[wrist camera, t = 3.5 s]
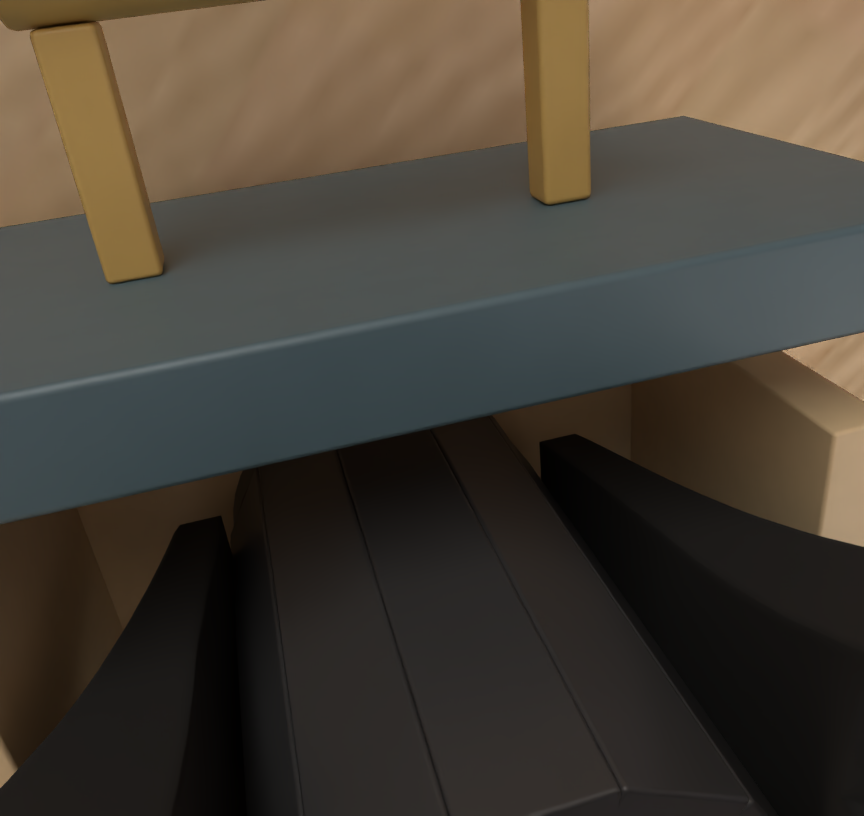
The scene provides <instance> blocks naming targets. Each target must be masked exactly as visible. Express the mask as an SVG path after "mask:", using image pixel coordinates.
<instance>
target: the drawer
mask: <svg viewBox="0 0 864 816" xmlns="http://www.w3.org/2000/svg"><path fill="white" fill-rule="evenodd" d="M256 1H264V0H0V19H1V21H2V22H3V23H4V25H5V26H6V27H7V28H9V29H11V30H14V31H23V30H31V29H35V30H33V31H31V32H30V39H31V42H32V45H33V48H34V51H35V55H36V58H37V61H38V64H39V67H40V71H41V74H42V77H43V80H44V83H45V87H46V90H47V93H48V96H49V99H50V103H51V106H52V109H53V112H54V115H55V119H56V122H57V125H58V128H59V131H60V135H61V138H62V141H63V144H64V148H65V151H66V154H67V157H68V160H69V164H70V167H71V170H72V173H73V176H74V180H75V183H76V186H77V189H78V192H79V196H80V199H81V202H82V205H83V208H84V212H85V214H81V215H75V216H69V217H62V218H56V219H50V220H44V221H38V222H32V223H26V224H20V225H14V226H7V227H1V228H0V788H1V787H2V786H3V785H4V784H5V783H6V782H7V781H8V780H9V778H10V777H11V776H12V775H13V774H14V773H15V772H16V771H17V770H18V768H19V767H20V766H21V765H22V764H23V763H24V762H25V761H26V760H27V758H28V757H29V756H30V755H31V754H32V753H33V752H34V751H35V750H36V749H37V747H38V746H39V745H40V744H41V743H42V742H43V741H44V740H45V739H46V737H47V736H48V735H49V734H50V733H51V732H52V731H53V730H54V728H55V727H56V726H57V725H58V724H59V722H60V721H61V720H62V718H63V717H64V716H65V715H66V713H67V712H68V711H69V709H70V708H71V707H72V706H73V704H74V703H75V702H76V700H77V699H78V698H79V696H80V695H81V694H82V692H83V691H84V690H85V688H86V687H87V685H88V684H89V683H90V681H91V680H92V678H93V677H94V675H95V674H96V673H97V671H98V670H99V668H100V667H101V665H102V663H103V662H104V660H105V659H106V657H107V656H108V654H109V652H110V651H111V649H112V648H113V646H114V645H115V643H116V641H117V640H118V638H119V637H120V635H121V634H122V632H123V630H124V629H125V627H126V626H127V624H128V622H129V620H130V619H131V617H132V615H133V613H134V611H135V610H136V608H137V606H138V604H139V602H140V601H141V599H142V597H143V595H144V593H145V592H146V590H147V588H148V586H149V584H150V582H151V580H152V578H153V576H154V574H155V572H156V570H157V568H158V566H159V564H160V562H161V560H162V558H163V556H164V554H165V552H166V550H167V547H168V545H169V543H170V541H171V539H172V536H173V534H174V532H175V531H176V530H177V528H178V527H179V525H181V524H186V523H190V522H194V521H199V520H203V519H207V518H212V517H216V516H220V515H221V516H222V520H223V524H224V527H225V531H226V534H227V538H228V541H229V545H230V540H231V536H230V535H231V532H232V530H233V527H234V521H233V507H234V500H235V493H236V489H237V486H238V482H239V479H240V476H241V473H242V471H243V470H247V469H252V468H256V467H261V466H265V465H270V464H274V463H279V462H283V461H288V460H292V459H297V458H301V457H306V456H310V455H315V454H319V453H324V452H328V451H333V450H337V449H342V448H346V447H351V446H355V445H360V444H364V443H369V442H373V441H378V440H382V439H387V438H391V437H396V436H400V435H405V434H409V433H413V432H418V431H422V430H427V429H431V428H436V427H440V426H445V425H449V424H454V423H458V422H463V421H467V420H472V419H476V418H481V417H485V416H490V415H492V416H493V417H494V418H495V419H496V421H497V422H498V423H499V425H500V426H501V428H502V429H503V430H504V432H505V433H506V435H507V436H508V438H509V439H510V440H511V442H512V443H513V444H514V445H515V447H516V448H517V449H518V450H519V451H520V452H521V454H522V455H523V456H524V457H525V458H526V460H527V461H528V462H529V463H530V465H531V466H532V467H533V469H534V470H535V472H536V473H537V474H538V476H539V477H540V479H541V467H540V447H539V442H541V441H545V440H549V439H554V438H558V437H562V436H567V435H571V434H577V435H579V436H582V437H584V438H586V439H588V440H590V441H593V442H595V443H597V444H599V445H601V446H603V447H605V448H607V449H609V450H611V451H613V452H615V453H616V454H618V455H620V456H622V457H624V458H626V459H628V460H630V461H632V462H634V463H636V464H638V465H640V466H642V467H644V468H646V469H648V470H650V471H652V472H654V473H656V474H659V475H661V476H663V477H665V478H667V479H669V480H671V481H673V482H675V483H677V484H680V485H682V486H684V487H686V488H688V489H691V490H693V491H695V492H697V493H700V494H702V495H704V496H707V497H709V498H712V499H714V500H717V501H719V502H721V503H724V504H726V505H729V506H731V507H734V508H736V509H739V510H741V511H744V512H747V513H750V514H752V515H755V516H758V517H761V518H764V519H767V520H770V521H773V522H776V523H779V524H782V525H785V526H788V527H791V528H794V529H798V530H801V531H804V532H808V533H811V534H815V535H818V536H822V537H826V538H830V539H834V540H838V541H842V542H846V543H850V544H854V545H858V546H862V547H864V401H862V400H860V399H859V398H857V397H855V396H854V395H852V394H850V393H849V392H847V391H846V390H844V389H842V388H841V387H839V386H837V385H836V384H834V383H833V382H831V381H829V380H828V379H826V378H824V377H823V376H821V375H819V374H818V373H816V372H815V371H813V370H811V369H810V368H808V367H806V366H805V365H803V364H802V363H800V362H798V361H797V360H795V359H793V358H792V357H790V356H789V355H787V354H785V353H784V352H782V351H781V350H786V349H790V348H795V347H799V346H804V345H808V344H813V343H817V342H822V341H826V340H831V339H835V338H840V337H844V336H849V335H853V334H858V333H862V332H864V162H862V161H858V160H855V159H851V158H847V157H843V156H839V155H835V154H831V153H827V152H823V151H819V150H815V149H811V148H807V147H804V146H800V145H796V144H792V143H788V142H784V141H780V140H776V139H772V138H768V137H764V136H760V135H756V134H752V133H749V132H745V131H741V130H737V129H733V128H729V127H725V126H721V125H717V124H713V123H709V122H705V121H701V120H697V119H694V118H690V117H686V116H680V117H674V118H668V119H662V120H656V121H650V122H644V123H638V124H631V125H625V126H619V127H613V128H607V129H601V130H595V131H590V87H589V10H588V0H521V20H522V40H523V61H524V81H525V102H526V123H527V142H521V143H515V144H509V145H503V146H497V147H491V148H485V149H478V150H472V151H466V152H460V153H454V154H448V155H442V156H436V157H430V158H423V159H417V160H411V161H405V162H399V163H393V164H387V165H381V166H374V167H368V168H362V169H356V170H350V171H344V172H338V173H332V174H326V175H319V176H313V177H307V178H301V179H295V180H289V181H283V182H277V183H270V184H264V185H258V186H252V187H246V188H240V189H234V190H228V191H222V192H215V193H209V194H203V195H197V196H191V197H185V198H179V199H173V200H166V201H160V202H154V203H149V199H148V195H147V192H146V188H145V184H144V181H143V177H142V173H141V170H140V166H139V162H138V159H137V155H136V151H135V147H134V144H133V140H132V136H131V133H130V129H129V125H128V122H127V118H126V114H125V111H124V107H123V103H122V100H121V96H120V92H119V89H118V85H117V81H116V78H115V74H114V70H113V67H112V63H111V59H110V56H109V52H108V48H107V45H106V41H105V37H104V34H103V30H102V27H101V25H100V24H99V22H95V21H103V20H111V19H119V18H127V17H135V16H143V15H151V14H159V13H167V12H175V11H183V10H191V9H199V8H207V7H215V6H224V5H232V4H240V3H248V2H256ZM230 548H231V547H230Z"/></svg>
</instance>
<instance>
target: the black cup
mask: <svg viewBox="0 0 864 816" xmlns="http://www.w3.org/2000/svg"><path fill="white" fill-rule="evenodd" d="M233 521H234V527H233V530H232V532H231V535H230V536H231V540H230V547H231V552H232V555H233V570H234V586H235V616H236V644H237V660H238V677H239V693H240V709H241V725H242V742H243V758H244V774H245V791H246V807H247V816H778V814H777V813H776V812H775V810H774V809H773V807H772V806H771V804H770V803H769V802H768V800H767V799H766V797H765V796H764V795H763V793H762V792H761V790H760V789H759V787H758V786H757V785H756V783H755V782H754V780H753V779H752V778H751V776H750V775H749V773H748V772H747V770H746V769H745V768H744V766H743V765H742V763H741V762H740V761H739V759H738V758H737V756H736V755H735V753H734V752H733V751H732V749H731V748H730V746H729V745H728V744H727V742H726V741H725V739H724V738H723V736H722V735H721V734H720V732H719V731H718V729H717V728H716V727H715V725H714V724H713V722H712V721H711V719H710V718H709V717H708V715H707V714H706V712H705V711H704V710H703V708H702V707H701V705H700V704H699V702H698V701H697V700H696V698H695V697H694V695H693V694H692V693H691V691H690V690H689V688H688V687H687V685H686V684H685V683H684V681H683V680H682V678H681V677H680V676H679V674H678V673H677V671H676V670H675V668H674V667H673V666H672V664H671V663H670V661H669V660H668V659H667V657H666V656H665V654H664V653H663V651H662V650H661V649H660V647H659V646H658V644H657V643H656V642H655V640H654V639H653V637H652V636H651V635H650V633H649V632H648V630H647V629H646V627H645V626H644V625H643V623H642V622H641V620H640V619H639V618H638V616H637V615H636V613H635V612H634V610H633V609H632V608H631V606H630V605H629V603H628V602H627V601H626V599H625V598H624V596H623V595H622V593H621V592H620V591H619V589H618V588H617V586H616V585H615V584H614V582H613V581H612V579H611V578H610V576H609V575H608V574H607V572H606V571H605V569H604V568H603V567H602V565H601V564H600V562H599V561H598V559H597V558H596V557H595V555H594V554H593V552H592V551H591V550H590V548H589V547H588V545H587V544H586V542H585V541H584V540H583V538H582V537H581V535H580V534H579V533H578V531H577V530H576V528H575V527H574V525H573V524H572V523H571V521H570V520H569V519H568V517H567V516H566V514H565V513H564V512H563V510H562V509H561V507H560V506H559V504H558V503H557V502H556V500H555V499H554V497H553V496H552V495H551V493H550V492H549V490H548V489H547V487H546V486H545V485H544V483H543V482H542V480H541V479H540V477H539V476H538V474H537V473H536V472H535V470H534V469H533V467H532V466H531V465H530V463H529V462H528V461H527V460H526V458H525V457H524V456H523V455H522V454H521V452H520V451H519V450H518V449H517V448H516V447H515V445H514V444H513V443H512V442H511V440H510V439H509V438H508V436H507V435H506V433H505V432H504V430H503V429H502V428H501V426H500V425H499V423H498V422H497V421H496V419H495V418H494V417H493V416H492V415H490V416H485V417H481V418H476V419H472V420H467V421H463V422H458V423H454V424H449V425H445V426H440V427H436V428H431V429H427V430H422V431H418V432H413V433H409V434H405V435H400V436H396V437H391V438H387V439H382V440H378V441H373V442H369V443H364V444H360V445H355V446H351V447H346V448H342V449H337V450H333V451H328V452H324V453H319V454H315V455H310V456H306V457H301V458H297V459H292V460H288V461H283V462H279V463H274V464H270V465H265V466H261V467H256V468H252V469H247V470H243V471H242V473H241V476H240V479H239V482H238V486H237V489H236V493H235V500H234V507H233Z"/></svg>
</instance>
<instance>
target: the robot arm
mask: <svg viewBox="0 0 864 816" xmlns="http://www.w3.org/2000/svg"><path fill="white" fill-rule="evenodd" d="M539 447H540V467H541V480H542V482H543V483H544V485H545V486H546V487H547V489H548V490H549V492H550V493H551V495H552V496H553V497H554V499H555V500H556V502H557V503H558V504H559V506H560V507H561V509H562V510H563V512H564V513H565V514H566V516H567V517H568V519H569V520H570V521H571V523H572V524H573V525H574V527H575V528H576V530H577V531H578V533H579V534H580V535H581V537H582V538H583V540H584V541H585V542H586V544H587V545H588V547H589V548H590V550H591V551H592V552H593V554H594V555H595V557H596V558H597V559H598V561H599V562H600V564H601V565H602V567H603V568H604V569H605V571H606V572H607V574H608V575H609V576H610V578H611V579H612V581H613V582H614V584H615V585H616V586H617V588H618V589H619V591H620V592H621V593H622V595H623V596H624V598H625V599H626V601H627V602H628V603H629V605H630V606H631V608H632V609H633V610H634V612H635V613H636V615H637V616H638V618H639V619H640V620H641V622H642V623H643V625H644V626H645V627H646V629H647V630H648V632H649V633H650V635H651V636H652V637H653V639H654V640H655V642H656V643H657V644H658V646H659V647H660V649H661V650H662V651H663V653H664V654H665V656H666V657H667V659H668V660H669V661H670V663H671V664H672V666H673V667H674V668H675V670H676V671H677V673H678V674H679V676H680V677H681V678H682V680H683V681H684V683H685V684H686V685H687V687H688V688H689V690H690V691H691V693H692V694H693V695H694V697H695V698H696V700H697V701H698V702H699V704H700V705H701V707H702V708H703V710H704V711H705V712H706V714H707V715H708V717H709V718H710V719H711V721H712V722H713V724H714V725H715V727H716V728H717V729H718V731H719V732H720V734H721V735H722V736H723V738H724V739H725V741H726V742H727V744H728V745H729V746H730V748H731V749H732V751H733V752H734V753H735V755H736V756H737V758H738V759H739V761H740V762H741V763H742V765H743V766H744V768H745V769H746V770H747V772H748V773H749V775H750V776H751V778H752V779H753V780H754V782H755V783H756V785H757V786H758V787H759V789H760V790H761V792H762V793H763V795H764V796H765V797H766V799H767V800H768V802H769V803H770V804H771V806H772V807H773V809H774V810H775V812H776V813H777V814H778V816H864V547H862V546H858V545H854V544H850V543H846V542H842V541H838V540H834V539H830V538H826V537H822V536H818V535H815V534H811V533H808V532H804V531H801V530H798V529H794V528H791V527H788V526H785V525H782V524H779V523H776V522H773V521H770V520H767V519H764V518H761V517H758V516H755V515H752V514H750V513H747V512H744V511H741V510H739V509H736V508H734V507H731V506H729V505H726V504H724V503H721V502H719V501H717V500H714V499H712V498H709V497H707V496H704V495H702V494H700V493H697V492H695V491H693V490H691V489H688V488H686V487H684V486H682V485H680V484H677V483H675V482H673V481H671V480H669V479H667V478H665V477H663V476H661V475H659V474H656V473H654V472H652V471H650V470H648V469H646V468H644V467H642V466H640V465H638V464H636V463H634V462H632V461H630V460H628V459H626V458H624V457H622V456H620V455H618V454H616V453H615V452H613V451H611V450H609V449H607V448H605V447H603V446H601V445H599V444H597V443H595V442H593V441H590V440H588V439H586V438H584V437H582V436H579V435H577V434H571V435H567V436H562V437H558V438H554V439H549V440H545V441H541V442H539ZM0 816H247V807H246V791H245V774H244V758H243V742H242V725H241V709H240V693H239V677H238V660H237V644H236V616H235V586H234V570H233V555H232V552H231V548H230V545H229V541H228V538H227V534H226V531H225V527H224V524H223V520H222V516H221V515H220V516H216V517H212V518H207V519H203V520H199V521H194V522H190V523H186V524H181V525H179V527H178V528H177V530H176V531H175V532H174V534H173V536H172V539H171V541H170V543H169V545H168V547H167V550H166V552H165V554H164V556H163V558H162V560H161V562H160V564H159V566H158V568H157V570H156V572H155V574H154V576H153V578H152V580H151V582H150V584H149V586H148V588H147V590H146V592H145V593H144V595H143V597H142V599H141V601H140V602H139V604H138V606H137V608H136V610H135V611H134V613H133V615H132V617H131V619H130V620H129V622H128V624H127V626H126V627H125V629H124V630H123V632H122V634H121V635H120V637H119V638H118V640H117V641H116V643H115V645H114V646H113V648H112V649H111V651H110V652H109V654H108V656H107V657H106V659H105V660H104V662H103V663H102V665H101V667H100V668H99V670H98V671H97V673H96V674H95V675H94V677H93V678H92V680H91V681H90V683H89V684H88V685H87V687H86V688H85V690H84V691H83V692H82V694H81V695H80V696H79V698H78V699H77V700H76V702H75V703H74V704H73V706H72V707H71V708H70V709H69V711H68V712H67V713H66V715H65V716H64V717H63V718H62V720H61V721H60V722H59V724H58V725H57V726H56V727H55V728H54V730H53V731H52V732H51V733H50V734H49V735H48V736H47V737H46V739H45V740H44V741H43V742H42V743H41V744H40V745H39V746H38V747H37V749H36V750H35V751H34V752H33V753H32V754H31V755H30V756H29V757H28V758H27V760H26V761H25V762H24V763H23V764H22V765H21V766H20V767H19V768H18V770H17V771H16V772H15V773H14V774H13V775H12V776H11V777H10V778H9V780H8V781H7V782H6V783H5V784H4V785H3V786H2V787H1V788H0Z"/></svg>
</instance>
